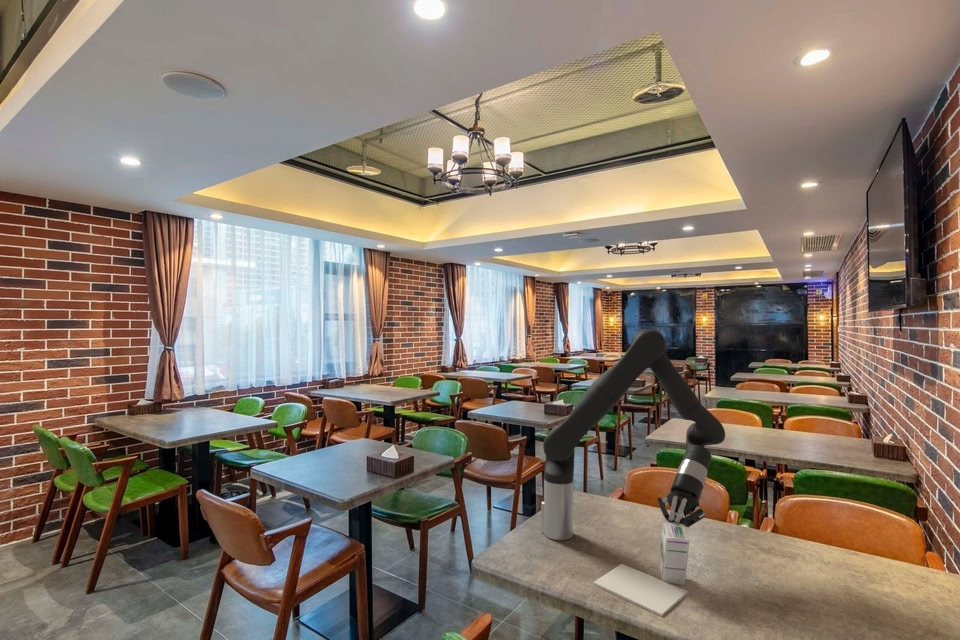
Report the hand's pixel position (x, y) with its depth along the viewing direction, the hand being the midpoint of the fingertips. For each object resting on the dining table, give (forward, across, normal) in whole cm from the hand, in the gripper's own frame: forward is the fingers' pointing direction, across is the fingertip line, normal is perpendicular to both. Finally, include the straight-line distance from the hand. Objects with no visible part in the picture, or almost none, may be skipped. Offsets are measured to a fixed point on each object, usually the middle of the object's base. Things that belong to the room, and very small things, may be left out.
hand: (670, 536), depth 121 cm
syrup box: (+7, 0, +7) cm, 10 cm away
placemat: (+15, -3, 0) cm, 15 cm away
